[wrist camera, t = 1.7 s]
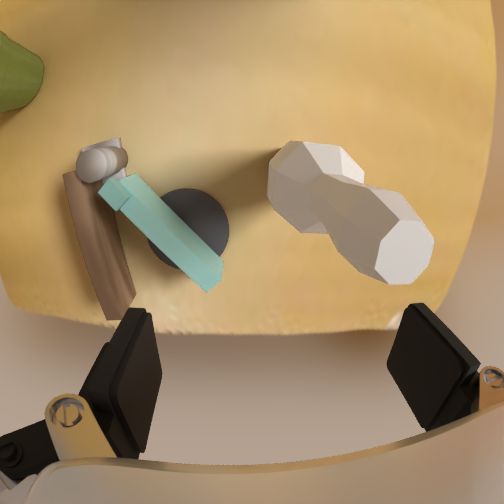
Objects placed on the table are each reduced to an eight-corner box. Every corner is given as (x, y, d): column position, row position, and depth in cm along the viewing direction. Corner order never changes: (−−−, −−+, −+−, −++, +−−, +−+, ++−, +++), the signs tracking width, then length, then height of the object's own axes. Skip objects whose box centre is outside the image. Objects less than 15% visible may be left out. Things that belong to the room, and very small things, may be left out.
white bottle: (329, 154, 28) (494, 208, 8) (305, 209, 30) (416, 346, 10) (273, 129, 27) (369, 113, 7) (249, 186, 29) (277, 309, 9)
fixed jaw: (124, 136, 26) (99, 138, 21) (158, 291, 33) (145, 320, 28) (85, 147, 26) (56, 152, 21) (122, 295, 33) (105, 323, 28)
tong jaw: (131, 169, 27) (109, 177, 21) (223, 261, 31) (221, 286, 26) (119, 183, 27) (96, 194, 22) (210, 272, 31) (205, 299, 26)
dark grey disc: (222, 182, 29) (222, 183, 28) (234, 263, 32) (234, 264, 32) (139, 196, 29) (138, 197, 28) (157, 272, 32) (156, 274, 32)
